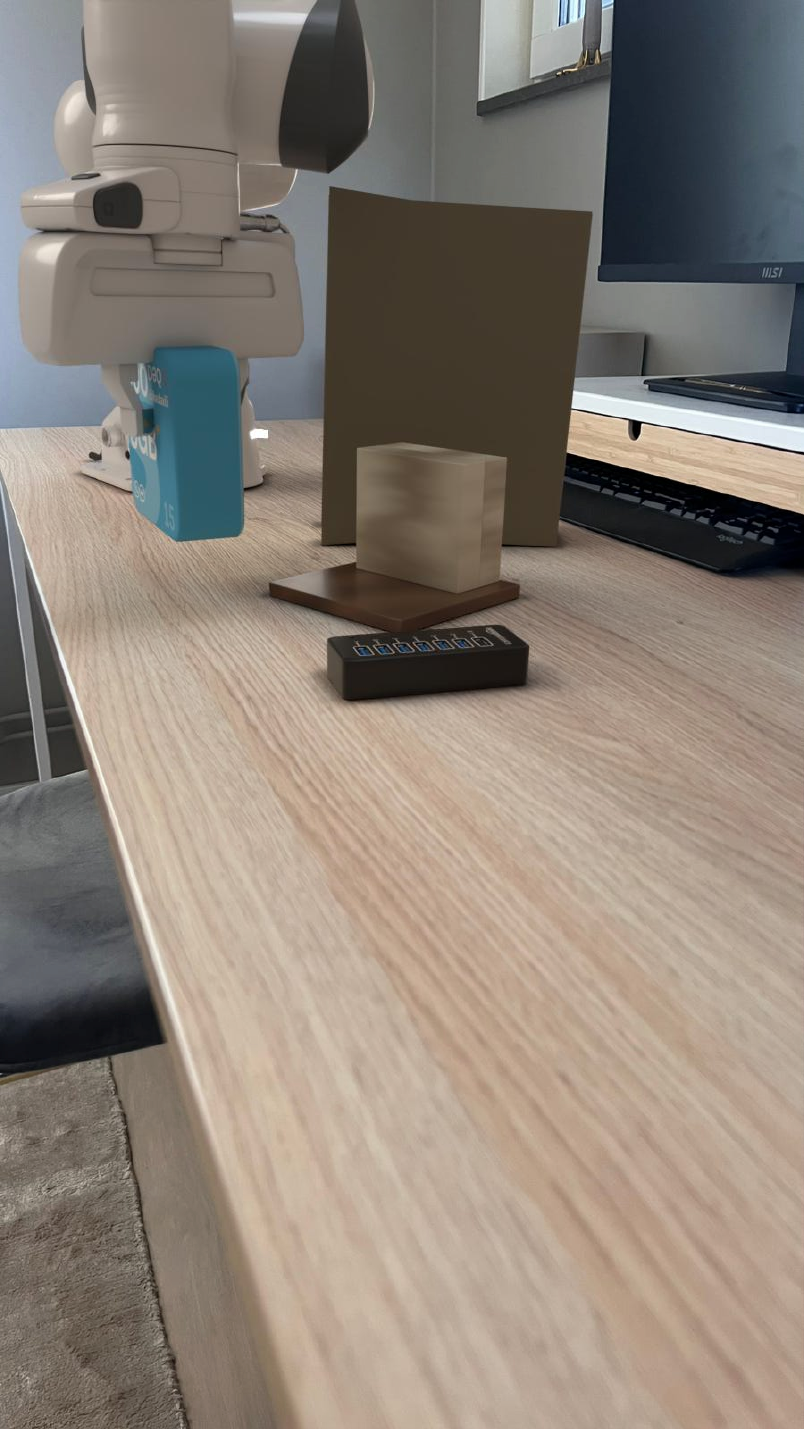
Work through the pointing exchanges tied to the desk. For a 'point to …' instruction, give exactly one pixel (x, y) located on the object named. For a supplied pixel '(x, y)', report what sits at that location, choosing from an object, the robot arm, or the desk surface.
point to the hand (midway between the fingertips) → (180, 431)
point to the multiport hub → (426, 661)
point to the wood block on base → (416, 541)
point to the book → (452, 344)
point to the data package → (190, 444)
